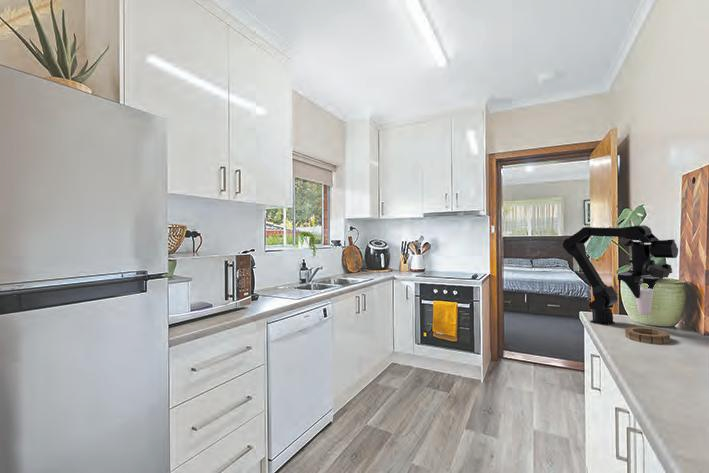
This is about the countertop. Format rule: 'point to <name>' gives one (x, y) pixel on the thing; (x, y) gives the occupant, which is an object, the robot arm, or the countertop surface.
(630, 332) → the walnut ring
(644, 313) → the smoothie
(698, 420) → the countertop surface
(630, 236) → the robot arm
